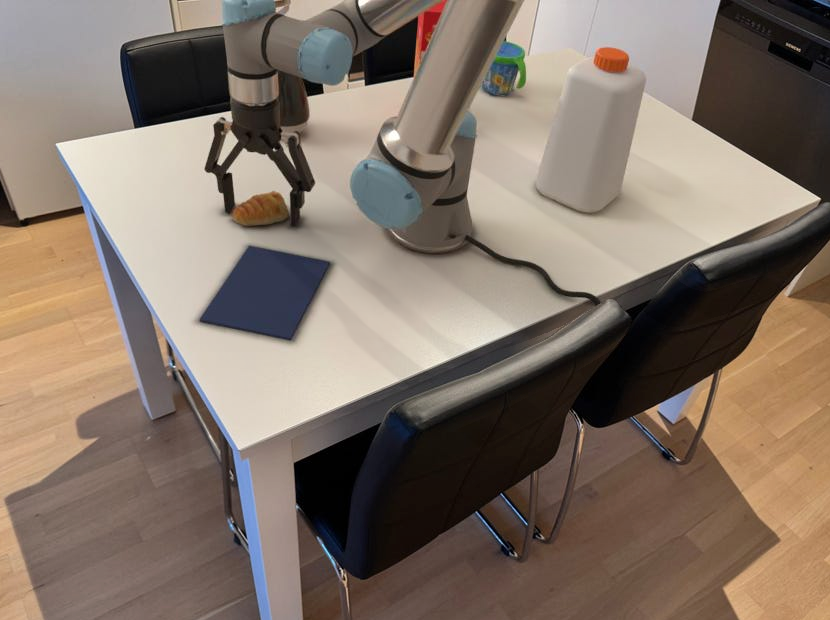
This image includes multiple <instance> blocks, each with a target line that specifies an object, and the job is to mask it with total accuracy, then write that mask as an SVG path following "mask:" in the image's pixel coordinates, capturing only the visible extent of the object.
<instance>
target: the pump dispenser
mask: <svg viewBox="0 0 830 620" xmlns="http://www.w3.org/2000/svg"><path fill="white" fill-rule="evenodd" d="M278 90H279V94H278V99H279V109H280V127H281V129H282V131H283V132H288V133H293V132H294V131H298V132H299V133H300V134H301V133H302V132H303V131H304V130H305V128H306V127H307V124H308V120H309V119H310V116H311V114H310V113H311V112H310V111H311V110H310V106H309V105H310V104H309V99H308V94H307V90H306V87H305V84H304V81H303V78H301V77H298V76H295V75H292V74H289V73H286V72H283V71H281V70H278Z"/></svg>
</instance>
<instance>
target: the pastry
mask: <svg viewBox="0 0 830 620" xmlns="http://www.w3.org/2000/svg"><path fill="white" fill-rule="evenodd" d="M285 201H286V200H285V198H284V197H283V195H282V194H281V193H280V192H278V191H276V190H272V191H270V192H265V193H260V194H255V195H252V196H251V197H250V198H249V199H247V200H245V201H243V202H241V203H240V204H238V205H237V206H235V207H234V208H233V211H232V220H233V221H234V222H236V223H238V224H239V225H242V226H246V227H249V226H250V227H254V226H265V225H273V224H274V223H280V222H283V221H285V220H287V218H288V217H289V216H290V212H289V209H288V205H287V204H286V202H285Z"/></svg>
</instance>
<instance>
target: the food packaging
mask: <svg viewBox="0 0 830 620" xmlns="http://www.w3.org/2000/svg"><path fill="white" fill-rule="evenodd" d="M446 2H447V0H443V1H442V2H440V3H438V4H437V5H435V6H434V7H432V8H430V9H429V10H427V11H426V12H424V13H422V14H421V15H419V16H418V17H417V31H416V43H415V55H414V66H413V67H414V68H413V78H412V80H413V79H414V76H415V74H416V72H417V69H418V67H419V65H420V62H421V60H422V58H423V55H424V53H425V51H426V48H427V46H428V44H429V41H430V39H431V37H432V35H433V32H434V30H435V28H436V25H437V23H438V21H439V18H440V16H441V14H442V11H443V9H444V7H445V4H446Z"/></svg>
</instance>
